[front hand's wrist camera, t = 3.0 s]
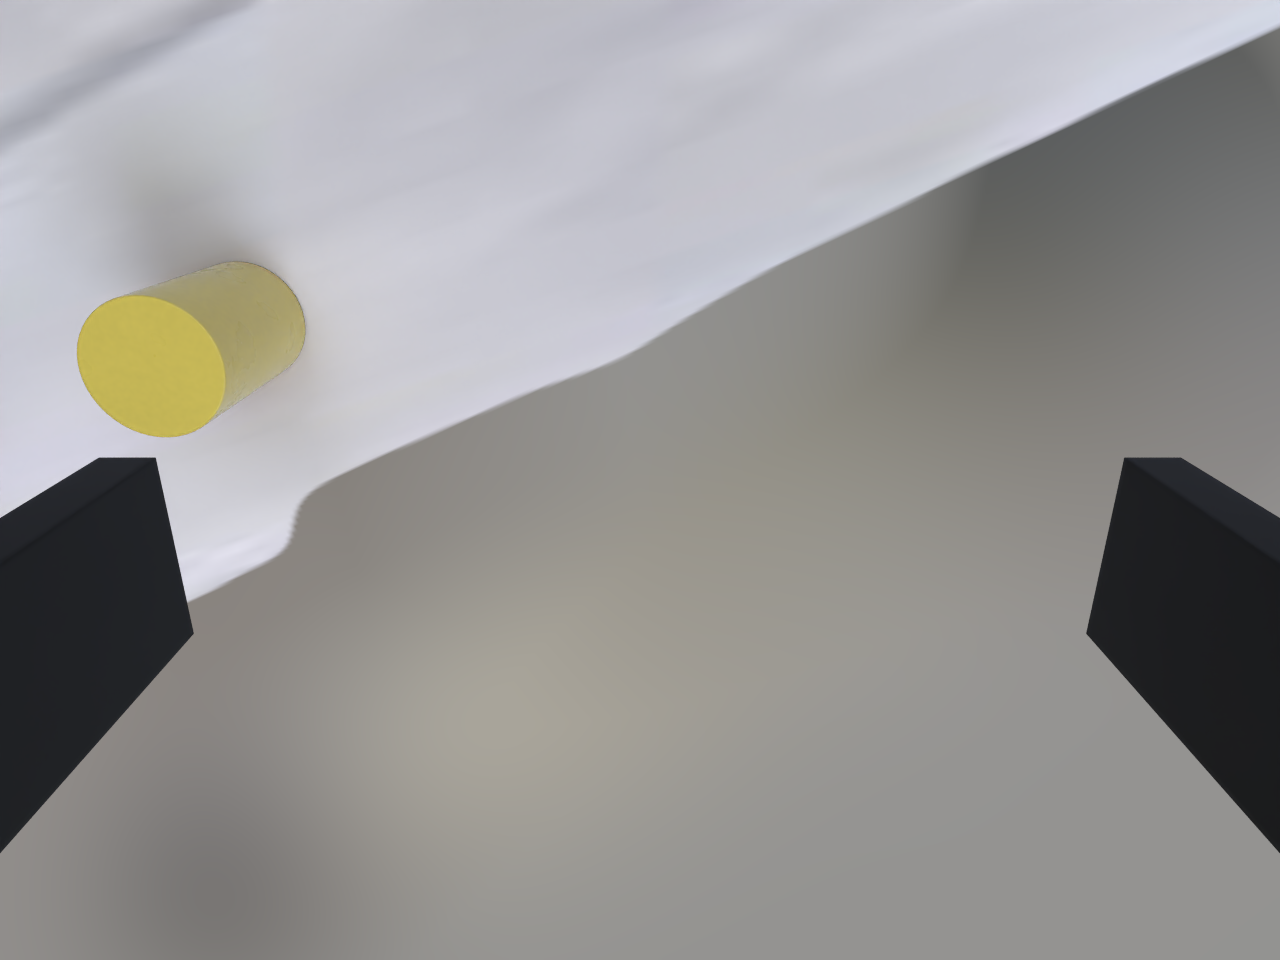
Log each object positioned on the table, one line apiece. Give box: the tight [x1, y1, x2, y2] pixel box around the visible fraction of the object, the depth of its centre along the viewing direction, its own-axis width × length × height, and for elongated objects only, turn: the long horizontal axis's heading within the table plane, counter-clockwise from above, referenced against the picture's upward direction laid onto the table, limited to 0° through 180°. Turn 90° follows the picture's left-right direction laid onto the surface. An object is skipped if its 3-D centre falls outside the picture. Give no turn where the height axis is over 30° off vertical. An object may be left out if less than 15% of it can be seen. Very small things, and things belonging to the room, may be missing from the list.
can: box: [77, 262, 305, 437], centre depth 42 cm, size 6×6×10 cm
